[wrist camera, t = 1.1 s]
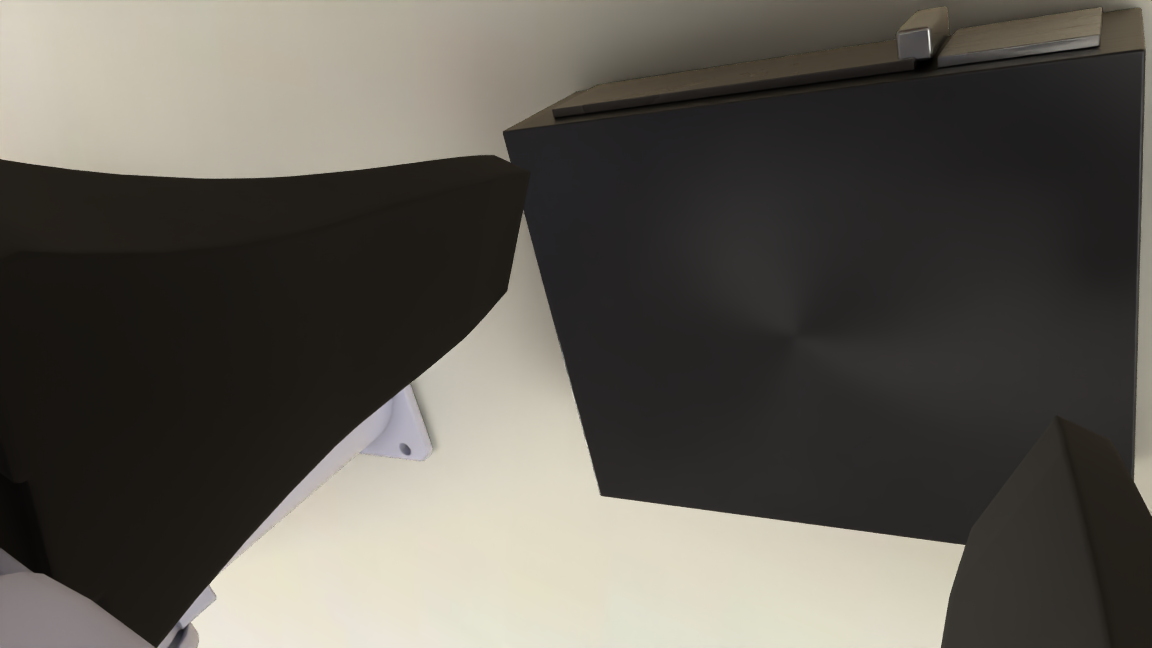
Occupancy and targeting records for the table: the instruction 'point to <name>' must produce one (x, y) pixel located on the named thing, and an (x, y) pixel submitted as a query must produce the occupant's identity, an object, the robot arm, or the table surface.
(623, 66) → the table surface
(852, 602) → the table surface
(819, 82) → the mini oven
